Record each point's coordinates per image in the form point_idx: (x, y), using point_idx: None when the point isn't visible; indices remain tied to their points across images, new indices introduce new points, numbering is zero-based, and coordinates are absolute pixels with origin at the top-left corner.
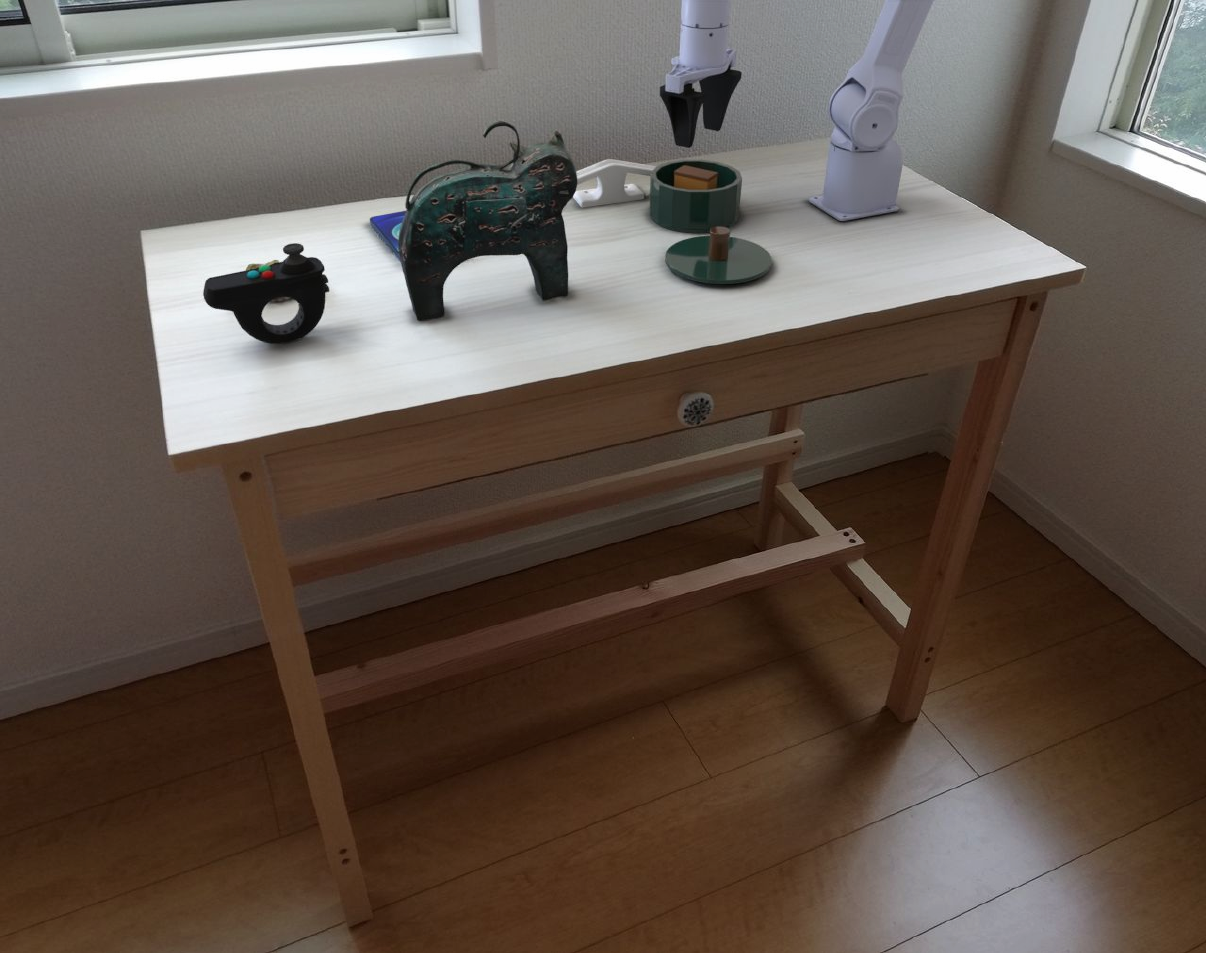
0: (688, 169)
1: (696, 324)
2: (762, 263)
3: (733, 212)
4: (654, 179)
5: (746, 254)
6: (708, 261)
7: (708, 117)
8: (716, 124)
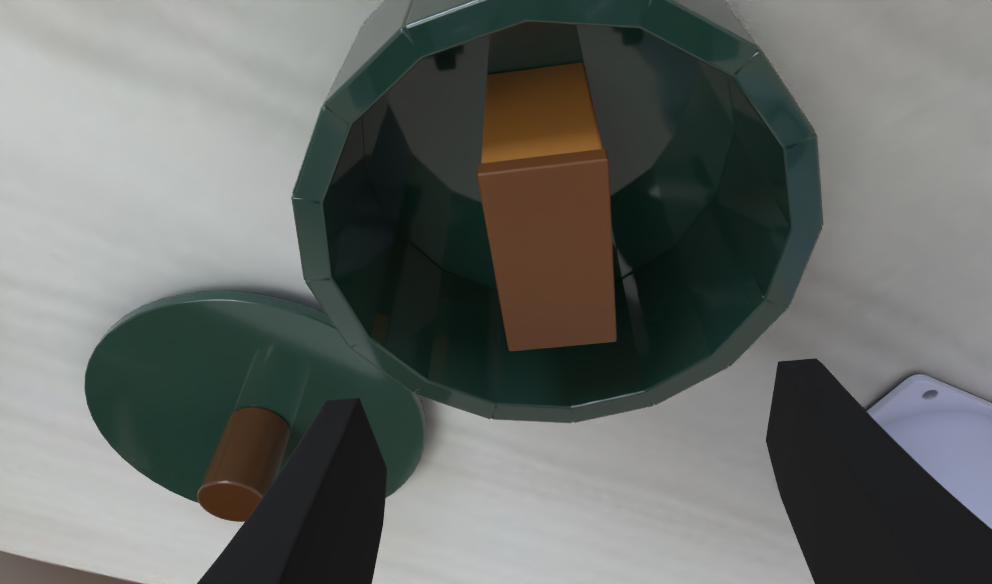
0: (555, 219)
1: (6, 503)
2: None
3: None
4: (325, 127)
5: None
6: (211, 424)
7: (805, 453)
8: (778, 468)
